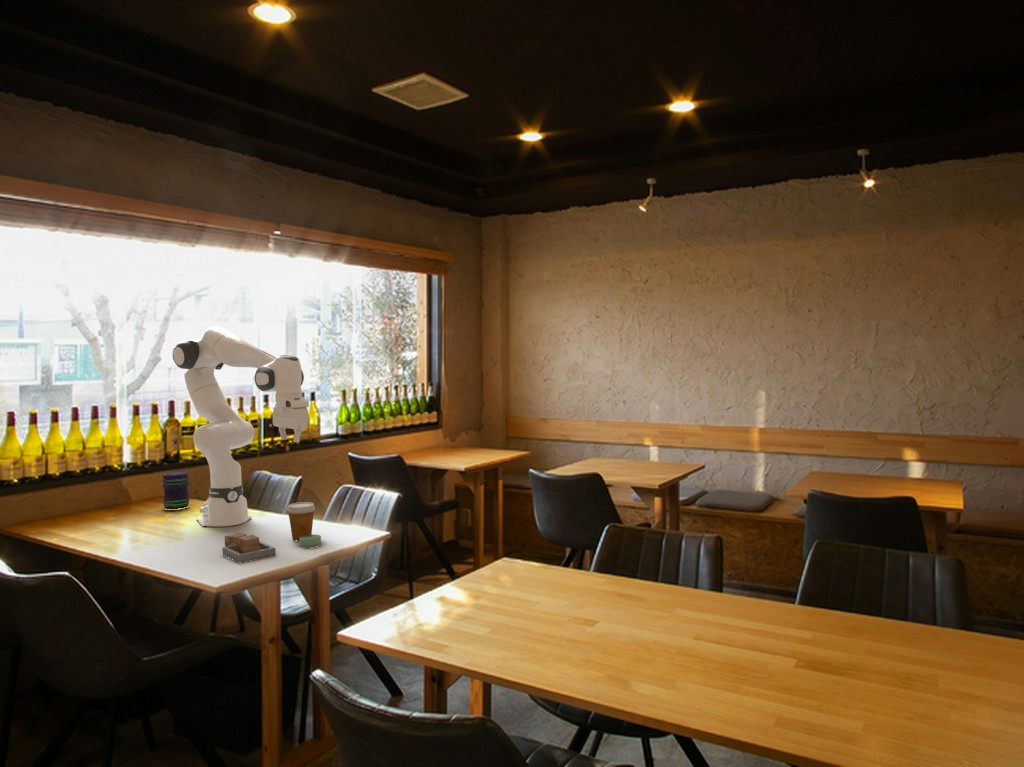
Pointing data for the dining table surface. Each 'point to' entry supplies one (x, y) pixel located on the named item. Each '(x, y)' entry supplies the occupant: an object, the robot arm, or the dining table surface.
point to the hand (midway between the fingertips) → (290, 440)
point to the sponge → (310, 541)
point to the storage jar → (175, 490)
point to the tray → (262, 553)
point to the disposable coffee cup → (301, 519)
